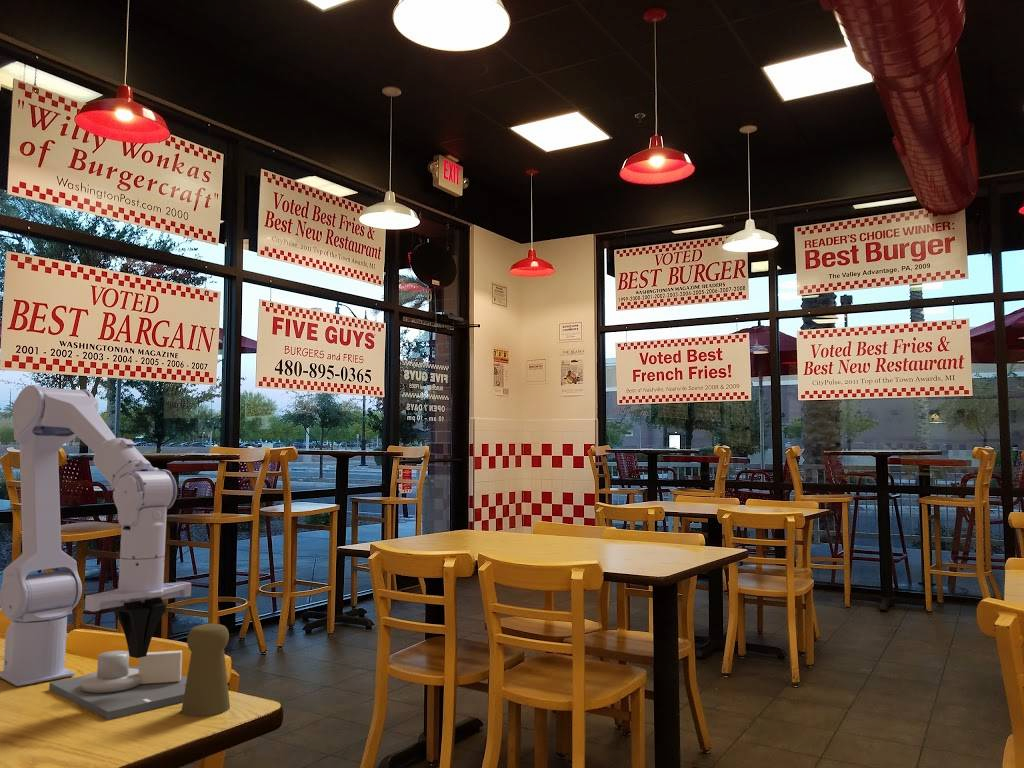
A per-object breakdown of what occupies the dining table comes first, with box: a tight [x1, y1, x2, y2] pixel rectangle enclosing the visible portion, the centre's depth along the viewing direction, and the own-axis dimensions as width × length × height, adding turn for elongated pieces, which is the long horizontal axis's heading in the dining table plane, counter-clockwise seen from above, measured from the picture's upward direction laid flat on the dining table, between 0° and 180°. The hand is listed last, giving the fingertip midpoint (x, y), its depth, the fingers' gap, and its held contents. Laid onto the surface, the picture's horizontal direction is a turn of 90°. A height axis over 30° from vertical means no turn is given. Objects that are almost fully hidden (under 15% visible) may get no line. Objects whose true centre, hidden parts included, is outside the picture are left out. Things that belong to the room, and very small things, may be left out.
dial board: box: [48, 664, 187, 721], centre depth 113 cm, size 20×14×1 cm
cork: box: [180, 623, 231, 718], centre depth 106 cm, size 6×6×11 cm
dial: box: [80, 649, 183, 693], centre depth 114 cm, size 13×8×4 cm, turn 105°
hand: (137, 656), depth 110 cm, fingers closed
